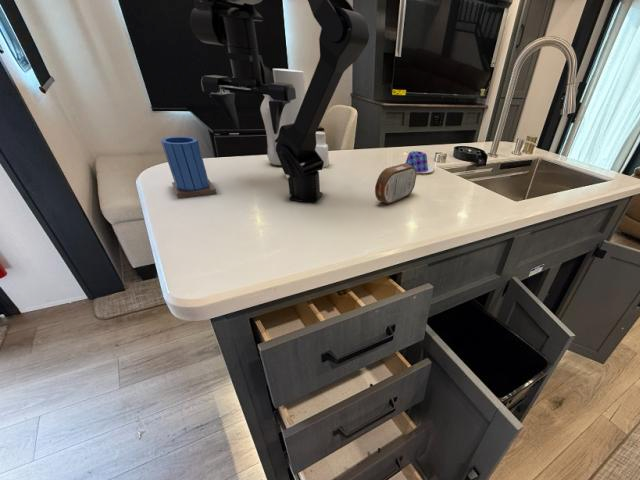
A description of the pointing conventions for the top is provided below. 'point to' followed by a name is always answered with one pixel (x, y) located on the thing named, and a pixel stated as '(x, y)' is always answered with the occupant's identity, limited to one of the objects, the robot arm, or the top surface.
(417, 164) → the blue checkered hat
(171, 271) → the top surface
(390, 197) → the tin
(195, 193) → the stand
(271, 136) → the plastic bottle
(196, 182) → the blue ribbed vase
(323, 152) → the pepper shaker
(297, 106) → the cylindrical container
